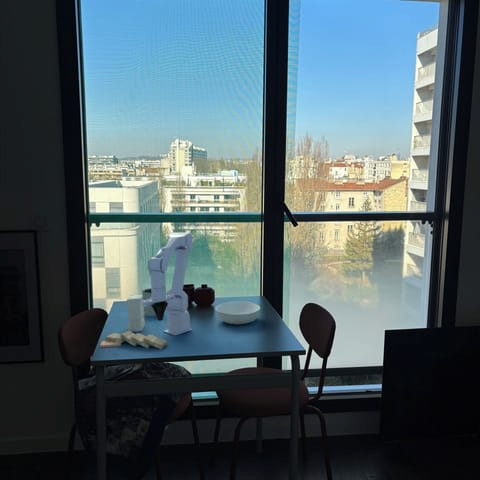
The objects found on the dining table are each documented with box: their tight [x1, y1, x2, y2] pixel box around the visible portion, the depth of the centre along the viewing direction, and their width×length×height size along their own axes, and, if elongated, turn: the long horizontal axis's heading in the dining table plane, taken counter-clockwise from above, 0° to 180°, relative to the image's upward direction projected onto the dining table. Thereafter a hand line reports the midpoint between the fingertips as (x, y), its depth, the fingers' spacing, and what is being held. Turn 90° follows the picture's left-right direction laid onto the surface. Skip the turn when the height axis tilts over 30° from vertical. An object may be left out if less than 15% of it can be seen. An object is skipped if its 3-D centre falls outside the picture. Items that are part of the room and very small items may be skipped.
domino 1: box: [105, 332, 126, 344], centre depth 192 cm, size 2×5×8 cm
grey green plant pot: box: [141, 288, 156, 317], centre depth 230 cm, size 10×10×12 cm
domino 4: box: [143, 333, 168, 350], centre depth 186 cm, size 2×5×8 cm
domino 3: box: [131, 332, 153, 349], centre depth 187 cm, size 2×5×8 cm
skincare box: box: [126, 294, 146, 332], centre depth 207 cm, size 8×6×15 cm
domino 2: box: [120, 330, 140, 347], centre depth 190 cm, size 2×5×8 cm
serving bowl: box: [215, 301, 261, 325], centre depth 216 cm, size 21×21×7 cm
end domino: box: [99, 340, 122, 349], centre depth 189 cm, size 2×5×8 cm
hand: (160, 319), depth 187 cm, fingers closed
